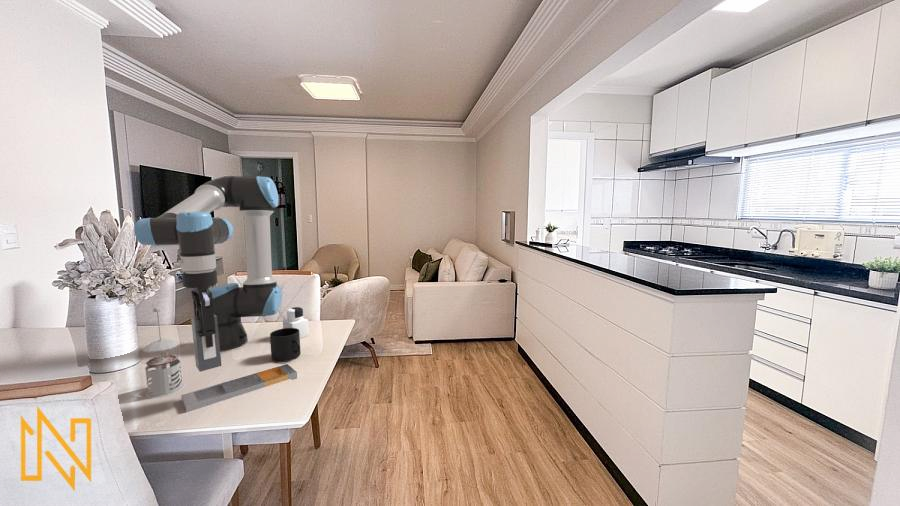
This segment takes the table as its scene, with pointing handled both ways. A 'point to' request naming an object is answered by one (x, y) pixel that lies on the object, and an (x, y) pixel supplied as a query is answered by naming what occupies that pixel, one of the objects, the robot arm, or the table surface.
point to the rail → (236, 387)
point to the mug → (285, 344)
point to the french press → (163, 368)
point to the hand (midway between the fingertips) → (207, 354)
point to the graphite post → (198, 348)
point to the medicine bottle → (296, 321)
